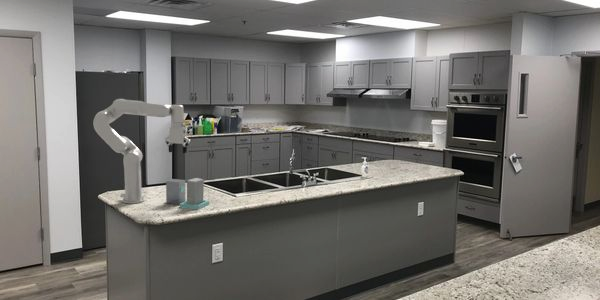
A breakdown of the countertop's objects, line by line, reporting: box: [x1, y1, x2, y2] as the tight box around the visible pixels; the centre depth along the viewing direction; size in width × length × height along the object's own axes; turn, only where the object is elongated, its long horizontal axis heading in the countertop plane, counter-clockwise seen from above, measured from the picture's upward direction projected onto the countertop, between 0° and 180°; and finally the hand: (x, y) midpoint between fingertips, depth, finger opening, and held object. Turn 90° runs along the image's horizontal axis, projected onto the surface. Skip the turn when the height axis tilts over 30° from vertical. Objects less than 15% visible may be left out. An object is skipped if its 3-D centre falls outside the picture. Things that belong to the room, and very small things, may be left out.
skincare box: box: [186, 177, 205, 205], centre depth 290 cm, size 8×7×16 cm
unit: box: [163, 178, 186, 206], centre depth 296 cm, size 11×9×14 cm
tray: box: [179, 199, 210, 210], centre depth 291 cm, size 12×13×2 cm
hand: (177, 152), depth 299 cm, fingers open, 9 cm apart
